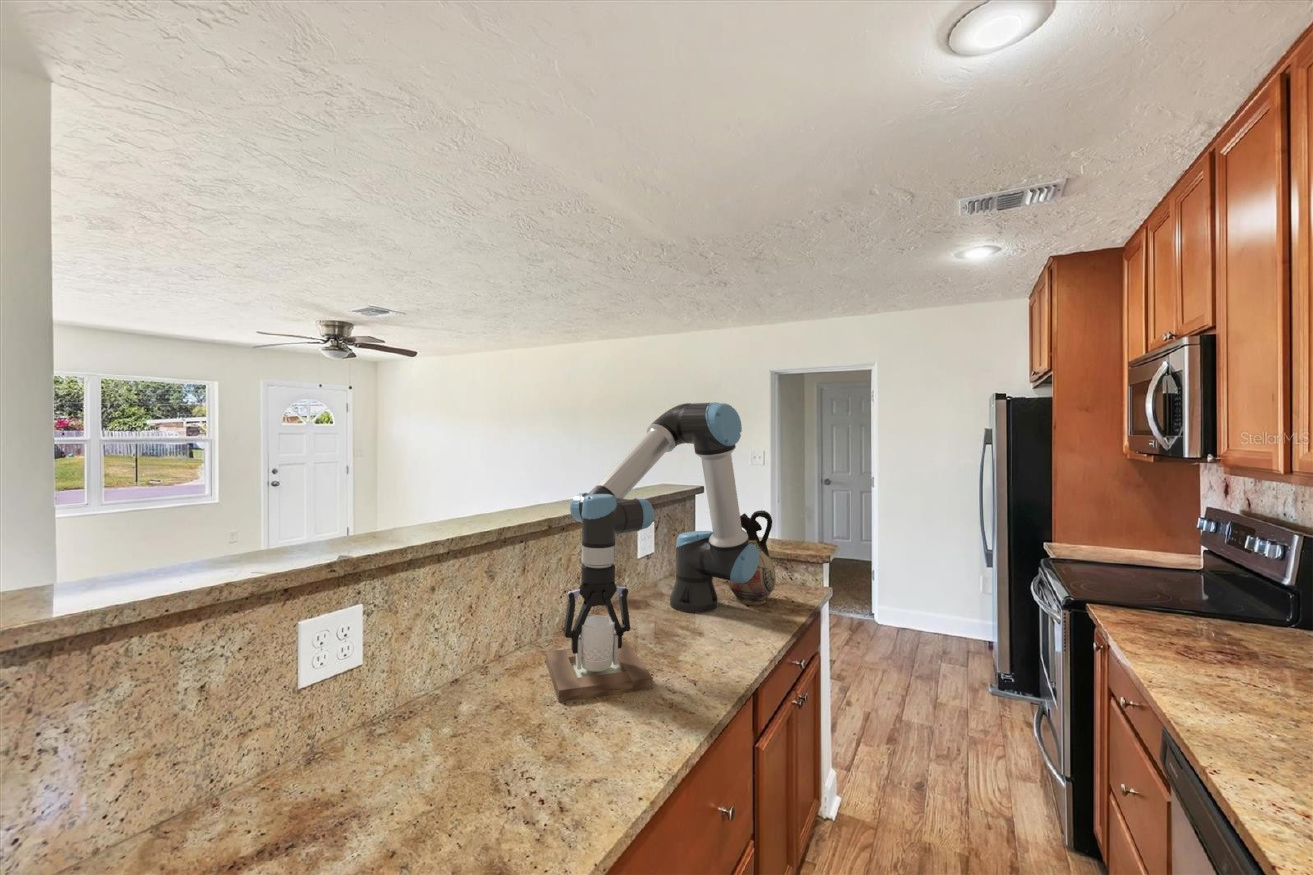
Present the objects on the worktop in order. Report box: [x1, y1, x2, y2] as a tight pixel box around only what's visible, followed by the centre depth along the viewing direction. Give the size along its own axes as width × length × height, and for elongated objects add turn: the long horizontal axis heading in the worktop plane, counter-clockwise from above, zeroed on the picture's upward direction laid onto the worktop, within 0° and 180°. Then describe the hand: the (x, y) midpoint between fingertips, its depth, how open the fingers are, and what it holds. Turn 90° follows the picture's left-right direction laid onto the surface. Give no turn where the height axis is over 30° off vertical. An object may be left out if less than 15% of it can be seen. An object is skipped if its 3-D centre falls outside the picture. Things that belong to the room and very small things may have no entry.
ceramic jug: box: [727, 509, 777, 606], centre depth 178 cm, size 17×15×30 cm
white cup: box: [579, 615, 615, 672], centre depth 124 cm, size 8×8×10 cm
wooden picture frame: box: [545, 642, 654, 703], centre depth 124 cm, size 20×20×2 cm
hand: (596, 664), depth 124 cm, fingers closed on white cup, 7 cm apart
